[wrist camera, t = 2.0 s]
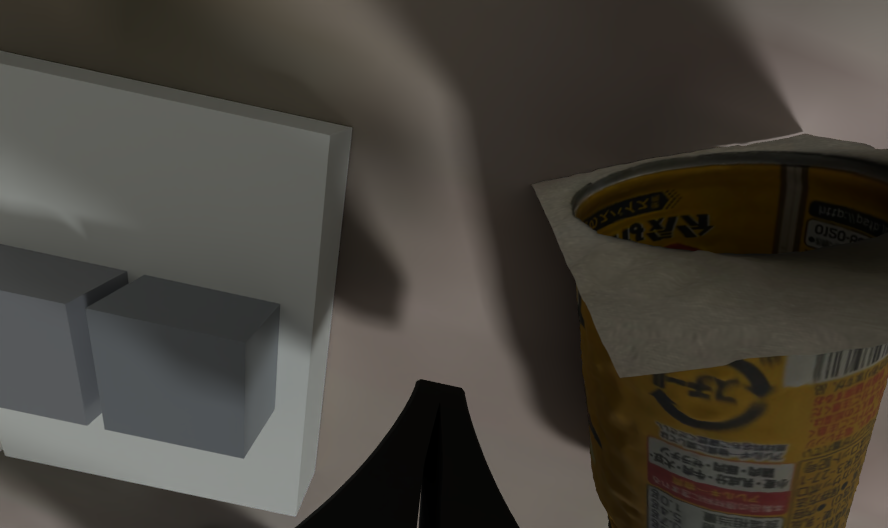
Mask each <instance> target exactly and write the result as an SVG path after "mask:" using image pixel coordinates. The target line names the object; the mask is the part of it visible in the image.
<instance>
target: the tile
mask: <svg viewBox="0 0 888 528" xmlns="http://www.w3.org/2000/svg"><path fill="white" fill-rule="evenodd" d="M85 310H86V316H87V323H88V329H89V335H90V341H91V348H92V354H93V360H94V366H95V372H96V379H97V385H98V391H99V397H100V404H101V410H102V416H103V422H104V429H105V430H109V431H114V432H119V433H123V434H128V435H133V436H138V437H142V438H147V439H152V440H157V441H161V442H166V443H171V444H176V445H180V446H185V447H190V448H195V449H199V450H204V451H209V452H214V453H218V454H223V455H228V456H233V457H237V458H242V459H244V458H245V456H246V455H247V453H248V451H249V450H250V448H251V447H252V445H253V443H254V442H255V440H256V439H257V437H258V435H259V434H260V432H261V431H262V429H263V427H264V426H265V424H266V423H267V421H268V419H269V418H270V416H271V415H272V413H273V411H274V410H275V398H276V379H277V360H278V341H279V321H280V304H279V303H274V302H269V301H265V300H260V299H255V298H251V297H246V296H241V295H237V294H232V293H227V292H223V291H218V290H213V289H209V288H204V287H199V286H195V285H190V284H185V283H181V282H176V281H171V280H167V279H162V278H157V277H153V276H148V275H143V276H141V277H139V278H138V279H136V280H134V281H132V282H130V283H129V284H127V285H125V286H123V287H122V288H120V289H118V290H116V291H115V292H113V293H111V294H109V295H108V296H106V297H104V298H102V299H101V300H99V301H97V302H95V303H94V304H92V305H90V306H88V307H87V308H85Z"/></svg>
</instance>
